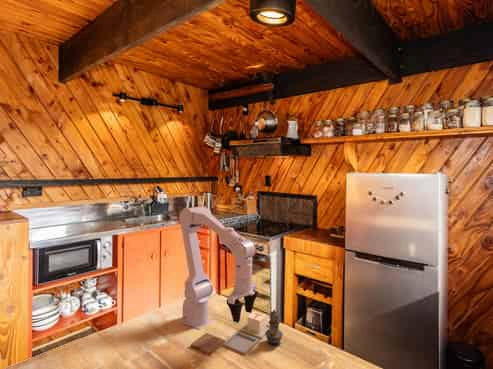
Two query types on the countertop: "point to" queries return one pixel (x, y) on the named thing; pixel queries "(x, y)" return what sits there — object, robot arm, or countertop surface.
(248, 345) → the tray grey
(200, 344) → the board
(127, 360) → the countertop surface
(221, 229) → the robot arm
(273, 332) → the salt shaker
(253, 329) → the letter cube
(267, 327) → the tray sage
